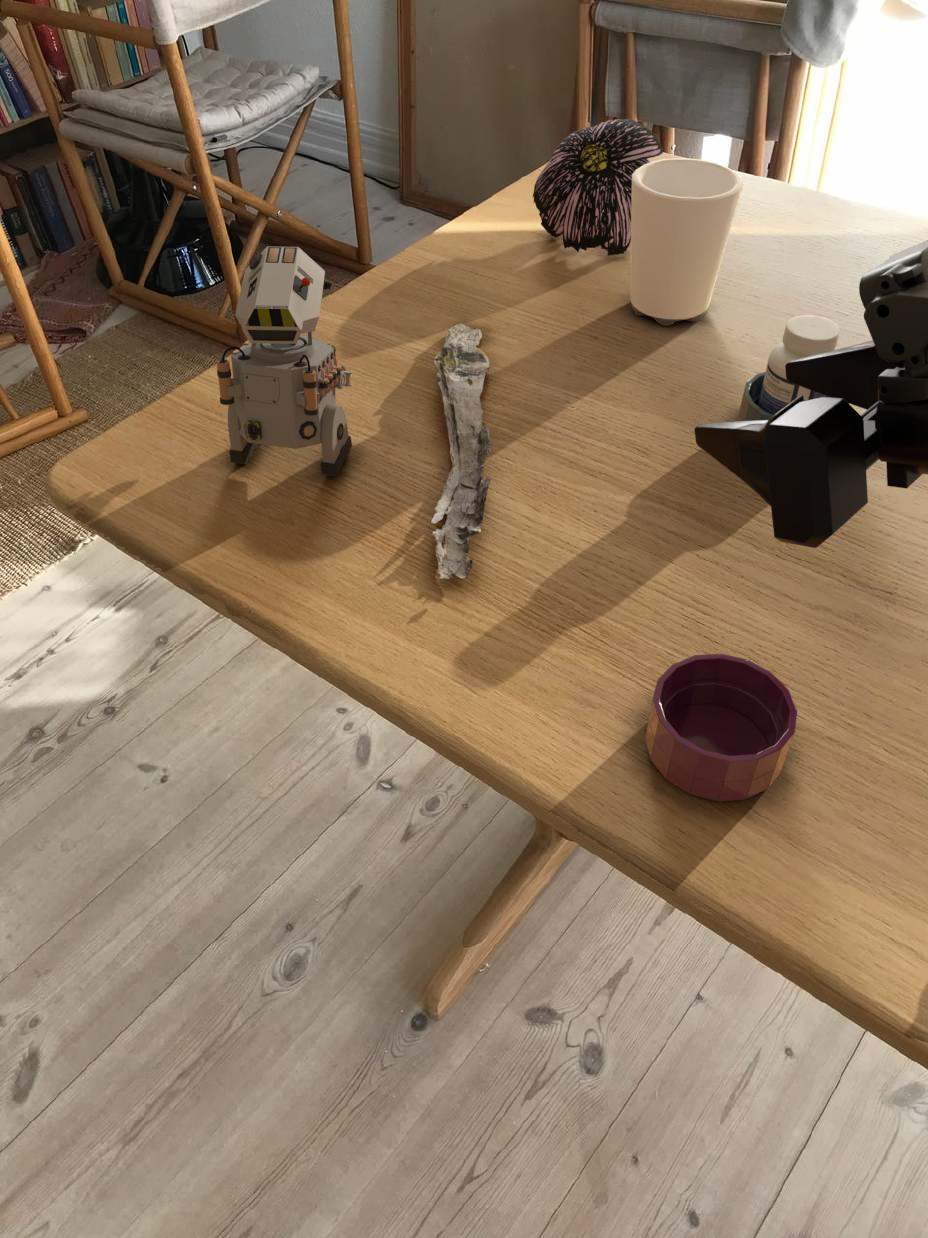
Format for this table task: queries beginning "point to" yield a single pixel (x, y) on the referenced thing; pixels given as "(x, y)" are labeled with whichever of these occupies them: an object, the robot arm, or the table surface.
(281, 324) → the figurine
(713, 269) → the cup
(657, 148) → the decorative flower
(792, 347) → the pill bottle
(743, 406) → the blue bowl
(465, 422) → the driftwood
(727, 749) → the plum bowl
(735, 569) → the table surface
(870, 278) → the robot arm
